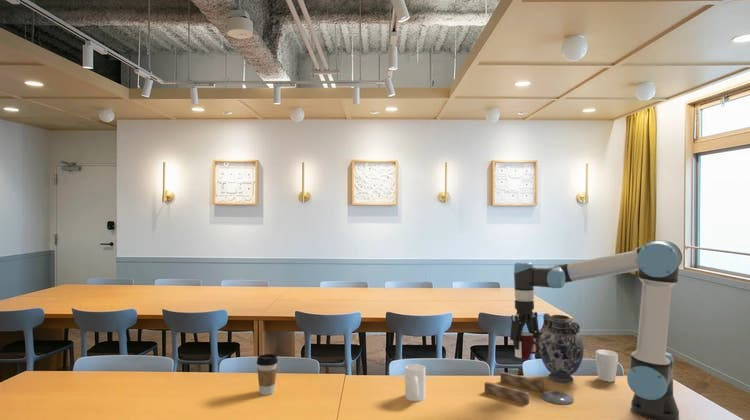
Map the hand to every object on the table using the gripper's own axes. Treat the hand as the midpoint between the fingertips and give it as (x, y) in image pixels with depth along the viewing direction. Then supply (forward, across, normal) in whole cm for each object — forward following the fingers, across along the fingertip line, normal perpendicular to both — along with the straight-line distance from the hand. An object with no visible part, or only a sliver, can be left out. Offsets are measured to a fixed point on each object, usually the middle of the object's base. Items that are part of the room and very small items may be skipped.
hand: (525, 355), depth 185 cm
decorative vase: (+16, -27, -3) cm, 32 cm away
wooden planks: (+16, +3, -4) cm, 16 cm away
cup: (+16, -44, +8) cm, 48 cm away
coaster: (+16, -7, +10) cm, 20 cm away
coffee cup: (+14, +89, -58) cm, 107 cm away
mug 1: (+15, +42, -20) cm, 49 cm away
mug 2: (+2, 0, 0) cm, 2 cm away
